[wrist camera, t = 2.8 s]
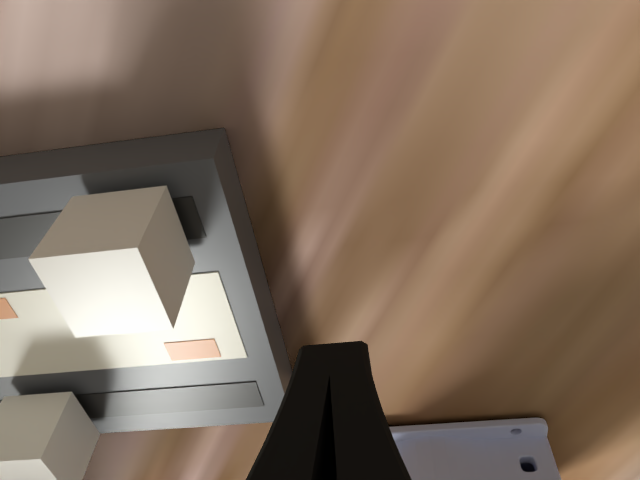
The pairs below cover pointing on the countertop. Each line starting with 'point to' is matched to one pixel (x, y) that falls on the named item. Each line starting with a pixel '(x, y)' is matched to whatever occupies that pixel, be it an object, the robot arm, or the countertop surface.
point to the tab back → (45, 437)
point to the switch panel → (153, 346)
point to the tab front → (116, 262)
